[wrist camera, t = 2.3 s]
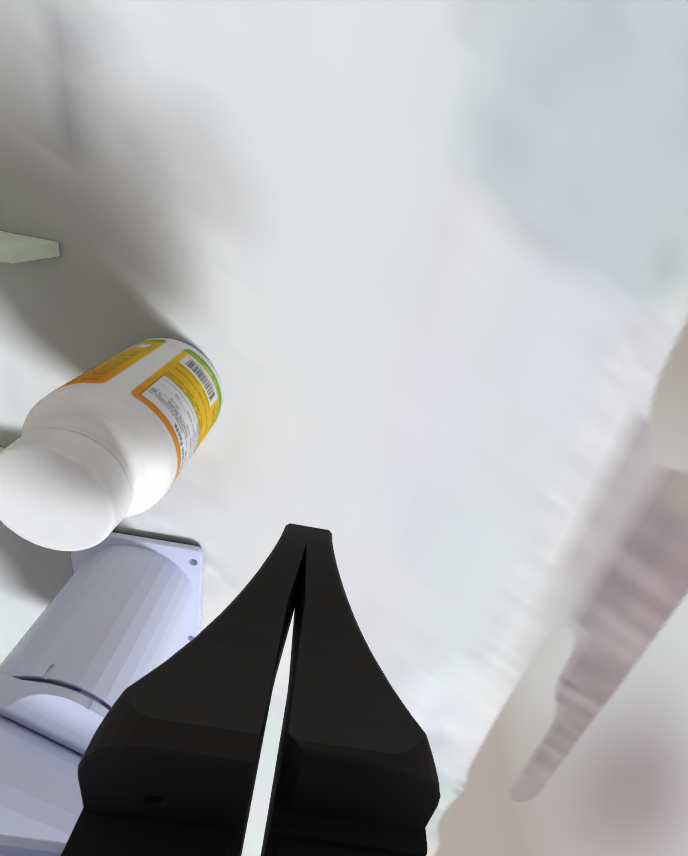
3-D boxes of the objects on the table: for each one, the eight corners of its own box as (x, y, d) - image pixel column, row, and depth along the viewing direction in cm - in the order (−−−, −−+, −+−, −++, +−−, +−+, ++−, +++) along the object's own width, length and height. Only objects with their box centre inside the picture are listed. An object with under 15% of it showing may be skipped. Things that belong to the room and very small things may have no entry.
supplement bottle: (111, 413, 23) (-45, 538, 14) (128, 317, 20) (-46, 396, 12) (211, 449, 23) (121, 588, 15) (238, 360, 21) (150, 464, 12)
